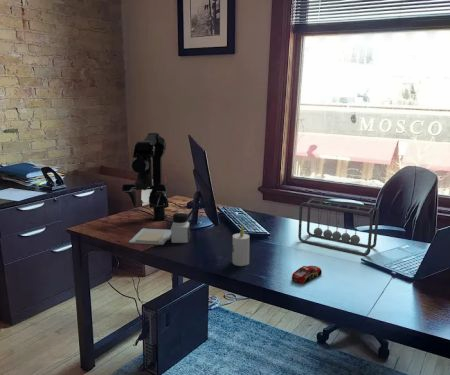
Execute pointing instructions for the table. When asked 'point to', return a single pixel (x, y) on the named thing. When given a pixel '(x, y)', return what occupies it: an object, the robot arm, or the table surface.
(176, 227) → the medicine bottle
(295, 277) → the race car
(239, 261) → the candle
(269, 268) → the table surface
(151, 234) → the board
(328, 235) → the newton's cradle
